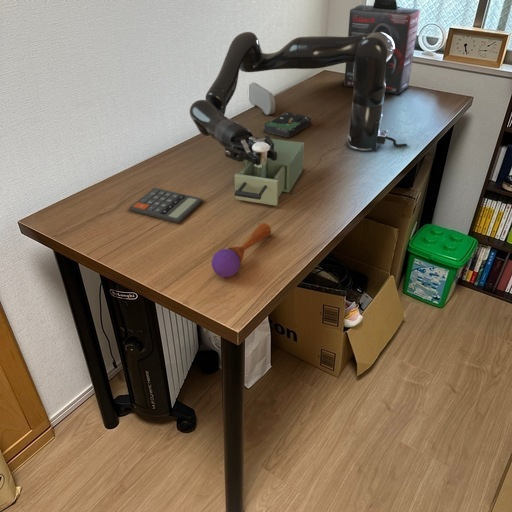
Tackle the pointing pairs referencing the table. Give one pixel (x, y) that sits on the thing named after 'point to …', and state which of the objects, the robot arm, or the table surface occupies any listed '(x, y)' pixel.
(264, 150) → the milkshake
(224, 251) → the kendama
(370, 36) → the robot arm
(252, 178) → the drawer
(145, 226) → the table surface
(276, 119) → the disk drive
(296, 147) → the cabinet
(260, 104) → the gray flat panel
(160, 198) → the calculator
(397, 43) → the headset box
